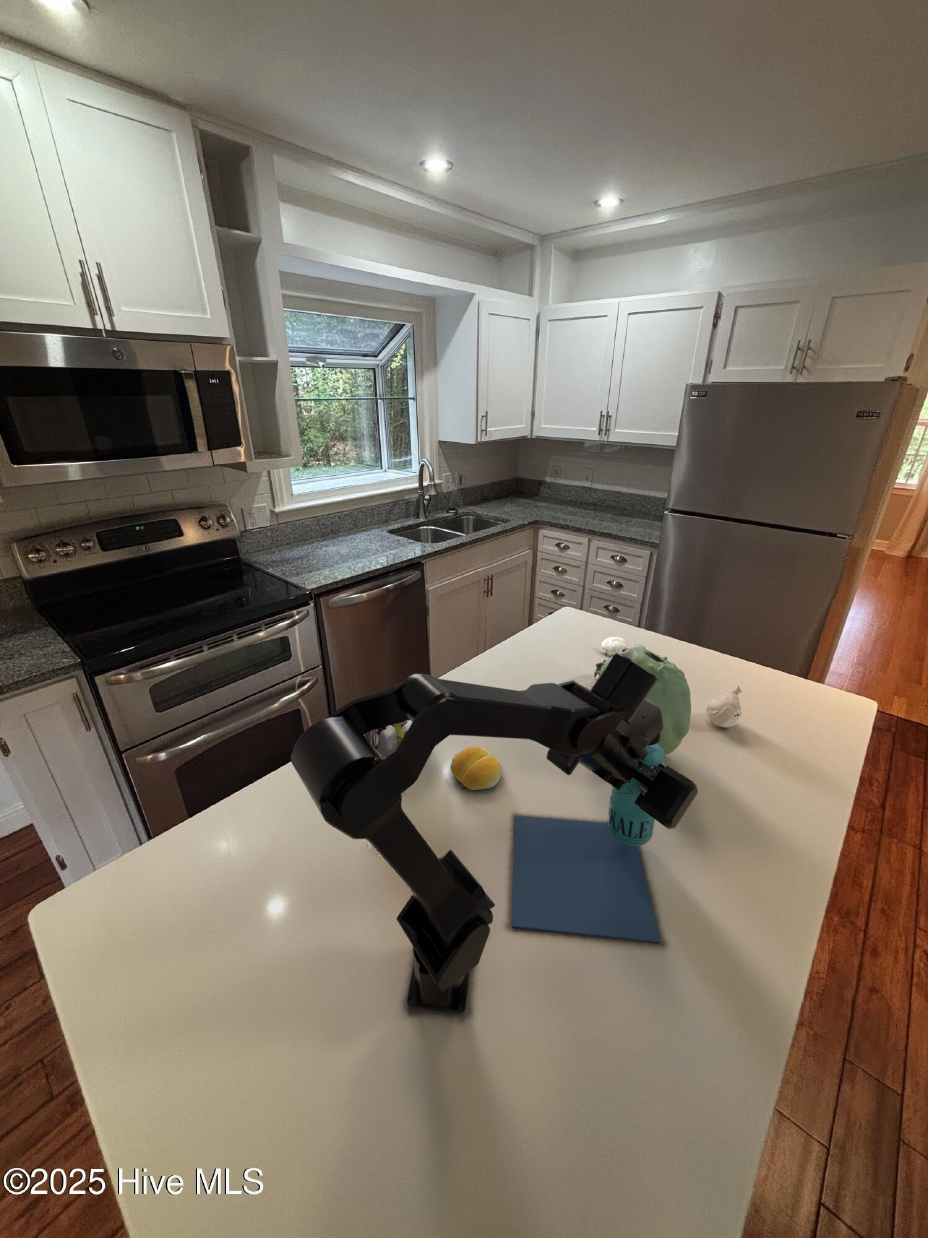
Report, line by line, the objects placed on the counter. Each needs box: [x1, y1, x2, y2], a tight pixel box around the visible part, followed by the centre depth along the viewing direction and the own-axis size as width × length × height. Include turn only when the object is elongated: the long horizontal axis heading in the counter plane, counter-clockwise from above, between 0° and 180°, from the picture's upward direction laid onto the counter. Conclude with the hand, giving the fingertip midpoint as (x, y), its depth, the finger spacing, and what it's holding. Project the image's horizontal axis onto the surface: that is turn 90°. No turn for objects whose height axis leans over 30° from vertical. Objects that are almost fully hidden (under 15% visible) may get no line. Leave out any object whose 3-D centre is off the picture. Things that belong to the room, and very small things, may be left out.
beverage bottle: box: [606, 733, 667, 847], centre depth 69 cm, size 6×7×20 cm
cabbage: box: [593, 644, 692, 756], centre depth 89 cm, size 16×19×20 cm
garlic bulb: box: [705, 685, 743, 728], centre depth 99 cm, size 7×6×8 cm
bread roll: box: [449, 746, 503, 791], centre depth 87 cm, size 8×9×4 cm
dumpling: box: [600, 636, 628, 657], centre depth 127 cm, size 7×5×4 cm
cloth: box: [511, 815, 661, 944], centre depth 70 cm, size 18×18×1 cm
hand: (640, 780), depth 70 cm, fingers closed on beverage bottle, 6 cm apart
